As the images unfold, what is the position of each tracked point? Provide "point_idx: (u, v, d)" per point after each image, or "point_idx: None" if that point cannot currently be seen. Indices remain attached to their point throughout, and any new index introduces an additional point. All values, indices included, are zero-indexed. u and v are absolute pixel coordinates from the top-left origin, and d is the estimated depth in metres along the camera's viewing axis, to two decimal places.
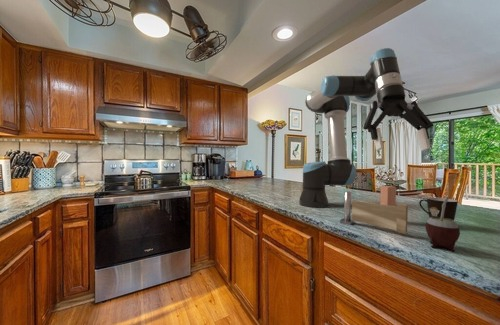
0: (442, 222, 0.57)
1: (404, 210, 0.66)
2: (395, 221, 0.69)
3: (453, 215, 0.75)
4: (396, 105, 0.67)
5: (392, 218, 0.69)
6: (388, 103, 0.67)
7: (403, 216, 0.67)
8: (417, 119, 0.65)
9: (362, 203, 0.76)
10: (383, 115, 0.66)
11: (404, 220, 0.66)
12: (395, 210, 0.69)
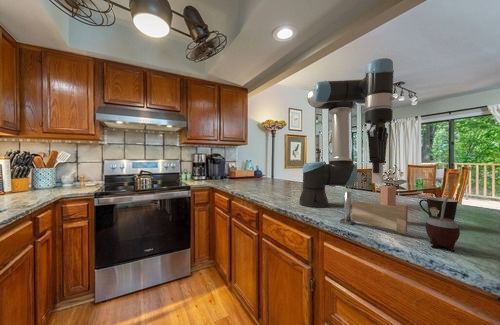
0: (442, 222, 0.57)
1: (404, 210, 0.66)
2: (395, 221, 0.69)
3: (453, 215, 0.75)
4: None
5: (392, 218, 0.69)
6: (379, 124, 0.64)
7: (403, 216, 0.67)
8: (383, 151, 0.67)
9: (362, 203, 0.76)
10: (380, 145, 0.65)
11: (404, 220, 0.66)
12: (395, 210, 0.69)
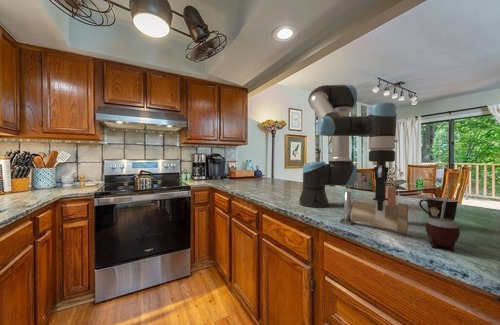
0: (442, 222, 0.57)
1: (405, 210, 0.67)
2: (396, 221, 0.69)
3: (453, 215, 0.75)
4: None
5: (393, 218, 0.70)
6: (384, 165, 0.68)
7: (404, 216, 0.67)
8: None
9: (362, 203, 0.76)
10: (385, 184, 0.68)
11: (405, 220, 0.67)
12: (396, 210, 0.69)
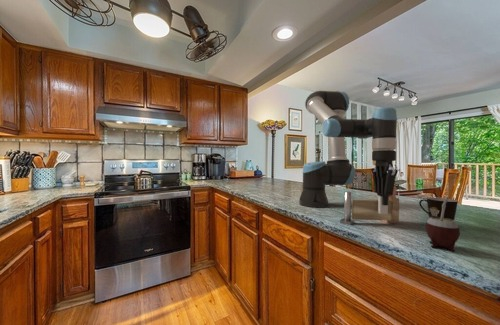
0: (442, 222, 0.57)
1: (398, 202, 0.79)
2: (390, 213, 0.79)
3: (453, 215, 0.75)
4: None
5: (388, 210, 0.79)
6: None
7: (397, 207, 0.79)
8: None
9: (363, 201, 0.80)
10: None
11: (398, 210, 0.79)
12: (390, 203, 0.79)
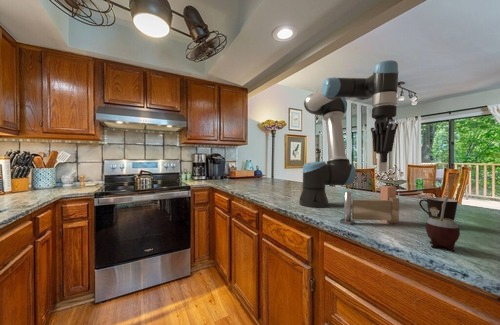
0: (442, 222, 0.57)
1: (398, 202, 0.79)
2: (390, 213, 0.79)
3: (453, 215, 0.75)
4: None
5: (388, 210, 0.79)
6: None
7: (397, 207, 0.79)
8: None
9: (363, 201, 0.80)
10: None
11: (398, 210, 0.79)
12: (390, 203, 0.79)
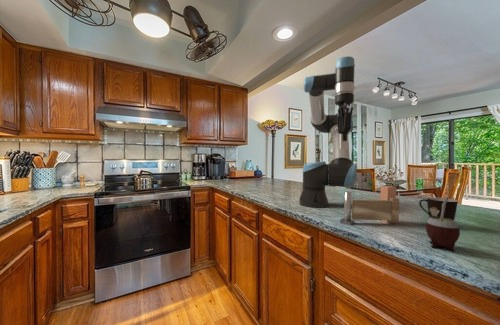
0: (442, 222, 0.57)
1: (398, 202, 0.79)
2: (390, 213, 0.79)
3: (453, 215, 0.75)
4: None
5: (388, 210, 0.79)
6: None
7: (397, 207, 0.79)
8: None
9: (363, 201, 0.80)
10: None
11: (398, 210, 0.79)
12: (390, 203, 0.79)
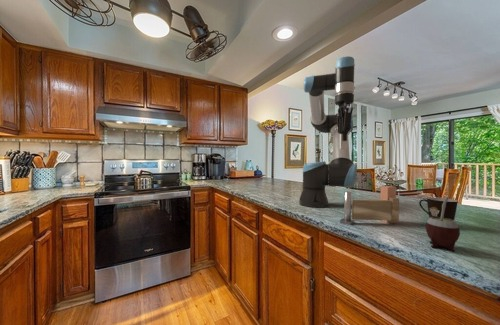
0: (442, 222, 0.57)
1: (398, 202, 0.79)
2: (390, 213, 0.79)
3: (453, 215, 0.75)
4: None
5: (388, 210, 0.79)
6: None
7: (397, 207, 0.79)
8: None
9: (363, 201, 0.80)
10: None
11: (398, 210, 0.79)
12: (390, 203, 0.79)
